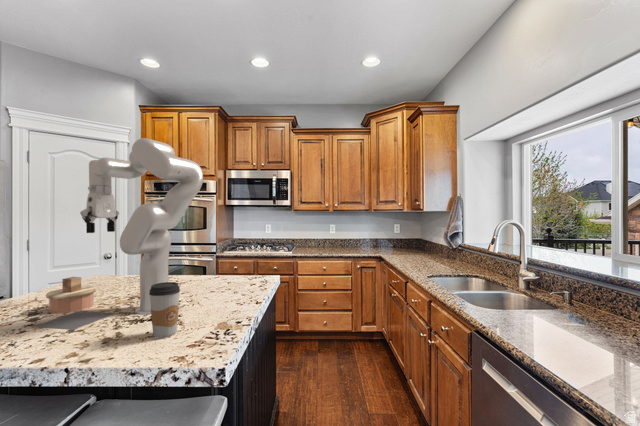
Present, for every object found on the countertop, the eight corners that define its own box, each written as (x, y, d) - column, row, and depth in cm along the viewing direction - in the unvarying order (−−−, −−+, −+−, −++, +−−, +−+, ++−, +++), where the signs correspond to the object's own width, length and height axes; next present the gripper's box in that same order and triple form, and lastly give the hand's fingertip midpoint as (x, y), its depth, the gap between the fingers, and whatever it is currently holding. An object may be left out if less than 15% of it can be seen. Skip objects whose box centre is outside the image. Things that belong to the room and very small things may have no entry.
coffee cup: (159, 342, 87) (159, 289, 87) (143, 336, 91) (143, 285, 91) (186, 332, 94) (185, 283, 94) (170, 327, 98) (169, 280, 98)
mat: (116, 315, 111) (116, 313, 111) (73, 331, 95) (73, 329, 95) (79, 312, 114) (79, 311, 114) (31, 328, 98) (31, 326, 98)
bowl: (101, 305, 123) (101, 290, 123) (69, 315, 111) (69, 298, 111) (74, 303, 126) (74, 288, 126) (39, 313, 113) (39, 297, 113)
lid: (105, 289, 124) (105, 274, 124) (68, 299, 110) (68, 283, 110) (74, 288, 127) (74, 273, 127) (34, 297, 112) (34, 281, 112)
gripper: (89, 188, 117) (90, 233, 117) (125, 192, 134) (125, 231, 134) (72, 189, 118) (73, 233, 118) (110, 192, 135) (110, 231, 135)
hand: (101, 232), depth 126 cm, fingers open, 9 cm apart
